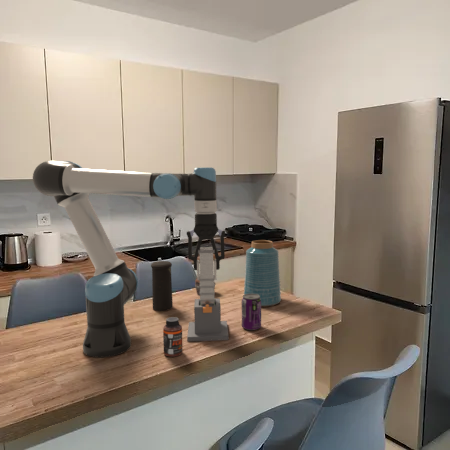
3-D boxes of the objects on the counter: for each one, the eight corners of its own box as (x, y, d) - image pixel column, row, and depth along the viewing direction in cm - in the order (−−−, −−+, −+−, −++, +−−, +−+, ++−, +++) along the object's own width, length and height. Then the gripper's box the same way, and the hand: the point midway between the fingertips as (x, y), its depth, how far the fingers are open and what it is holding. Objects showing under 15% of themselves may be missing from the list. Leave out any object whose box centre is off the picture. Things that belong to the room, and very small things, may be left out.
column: (199, 315, 140) (198, 250, 138) (199, 310, 146) (198, 247, 143) (215, 315, 141) (214, 250, 138) (215, 309, 146) (214, 247, 143)
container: (177, 306, 173) (176, 260, 170) (163, 313, 165) (161, 265, 163) (162, 303, 177) (160, 258, 175) (147, 309, 170) (145, 262, 167)
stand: (187, 341, 137) (186, 307, 136) (189, 325, 151) (188, 294, 149) (228, 340, 138) (228, 306, 136) (226, 324, 152) (226, 293, 150)
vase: (283, 307, 170) (283, 244, 166) (244, 307, 170) (243, 245, 167) (278, 295, 186) (278, 238, 183) (243, 296, 186) (242, 238, 183)
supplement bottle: (174, 359, 124) (173, 323, 122) (159, 355, 127) (158, 320, 126) (186, 352, 129) (185, 317, 127) (171, 347, 132) (170, 314, 131)
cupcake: (193, 296, 187) (192, 275, 186) (197, 290, 196) (197, 270, 195) (213, 297, 185) (213, 276, 184) (217, 291, 195) (217, 270, 194)
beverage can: (260, 332, 144) (259, 299, 143) (240, 330, 146) (240, 298, 144) (262, 324, 151) (262, 293, 150) (243, 323, 152) (243, 292, 151)
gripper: (178, 214, 135) (180, 282, 138) (232, 213, 135) (233, 281, 138) (179, 212, 142) (181, 276, 145) (231, 211, 143) (232, 275, 146)
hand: (206, 278), depth 142 cm, fingers closed on column, 5 cm apart
